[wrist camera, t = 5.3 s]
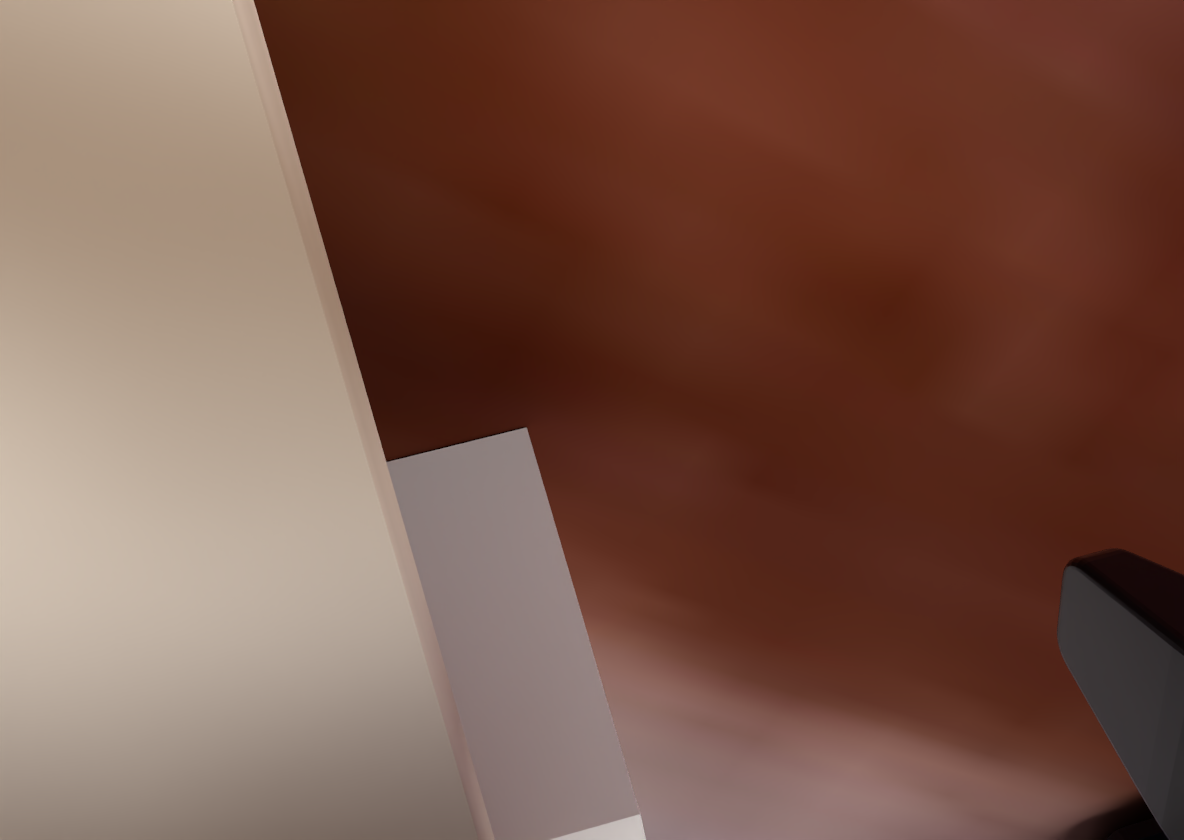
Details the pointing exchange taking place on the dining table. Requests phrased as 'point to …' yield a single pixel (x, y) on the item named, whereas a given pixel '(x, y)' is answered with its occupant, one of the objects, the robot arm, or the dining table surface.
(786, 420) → the dining table surface
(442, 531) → the lever fulcrum
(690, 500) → the dining table surface
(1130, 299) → the dining table surface
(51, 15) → the catapult lever
